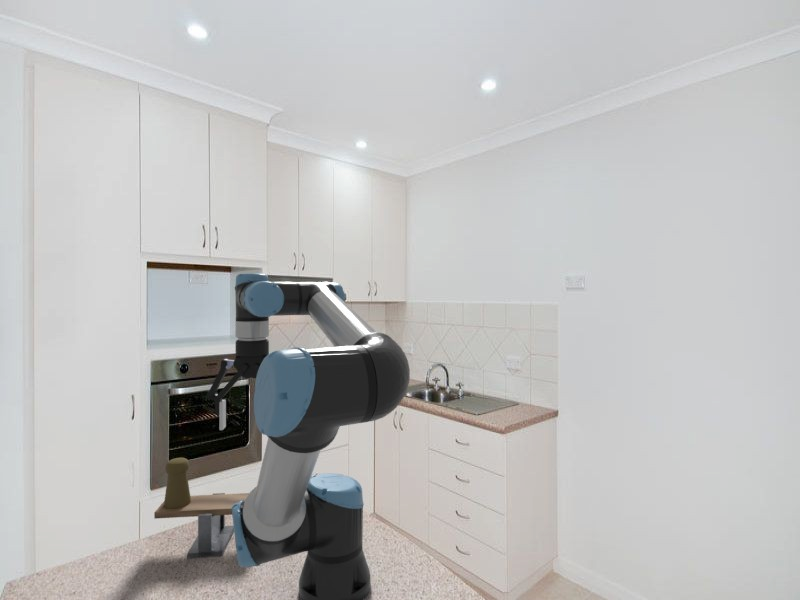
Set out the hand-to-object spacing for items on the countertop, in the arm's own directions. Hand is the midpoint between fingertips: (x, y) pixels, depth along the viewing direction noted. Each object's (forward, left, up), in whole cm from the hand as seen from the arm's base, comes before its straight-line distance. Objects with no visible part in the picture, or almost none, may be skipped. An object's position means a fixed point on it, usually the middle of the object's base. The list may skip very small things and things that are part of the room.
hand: (252, 427), depth 106 cm
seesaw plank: (+6, +11, -22) cm, 25 cm away
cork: (+6, +19, -20) cm, 29 cm away
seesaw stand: (+6, +11, -31) cm, 33 cm away
